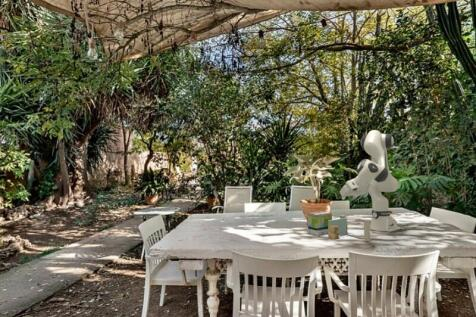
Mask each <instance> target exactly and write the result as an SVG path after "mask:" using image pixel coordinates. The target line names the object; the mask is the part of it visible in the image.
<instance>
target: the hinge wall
mask: <svg viewBox="0 0 476 317" xmlns="http://www.w3.org/2000/svg"><path fill="white" fill-rule="evenodd" d="M342 218H347V215H344V214H339V219H342Z"/></svg>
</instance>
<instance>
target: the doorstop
mask: <svg viewBox="0 0 476 317" xmlns="http://www.w3.org/2000/svg"><path fill="white" fill-rule="evenodd" d="M328 235H329V237H328V239H331V240H338V239H340V235H339V227H338V226H334V225H332V226H328V234H327V236H328Z"/></svg>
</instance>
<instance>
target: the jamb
mask: <svg viewBox="0 0 476 317" xmlns="http://www.w3.org/2000/svg"><path fill="white" fill-rule="evenodd" d="M370 226H371V220H370V219H369V220H368V219H367V220H366V219H365V220H363V238H364V239H363V240H364V241H366V242H368V241H371V229H370Z"/></svg>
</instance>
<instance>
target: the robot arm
mask: <svg viewBox="0 0 476 317" xmlns="http://www.w3.org/2000/svg"><path fill="white" fill-rule="evenodd" d="M394 141H395V140H394V137H393V135H392V134H391V133H381V132H380V131H379V130H377V129H374V130H373V129H372V130H370V131H368V133H367V134H365V135H362V137H361V138H360V146H361V148H362V149H364V151H365V152H366V153H367V154H368V155H369V156H370V158H371V159H367V158H364V159H361V161H360V162H359V163H358V165H357V167H356V170H357V173H358V175H357V176H356V177H354V178H352V179H350V180H347V181H346V182H345V184H344V185H343V186H342V187H341V189H340V190H339V193H340V195H341V200H343V201H344V200H346V197H352V199H353V200H355V199H357V198H358V197H359V196H364V195H366V194H367V193H368V194H369V195H370V197H371V205H372V207H371V208H372V210H371V220H370V221H371V222H370V230H372V231H377V232H390V233H391V232H394V231H398V230H401V227H400V226H398V222H397V220H396V219H395V218H393V217H392V216H391V215H392V214H393V210H389V199H388V198H387V197H386V196H384V195H383V194H382V192H384V193H393V192H396V191H397V190H398V188H399V181H398V179H397V178H395V177H394V176H393V174H392V173H391V171H390V170H389V163H388V151H389V149H391V148H392V147H393V146H394Z"/></svg>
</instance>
